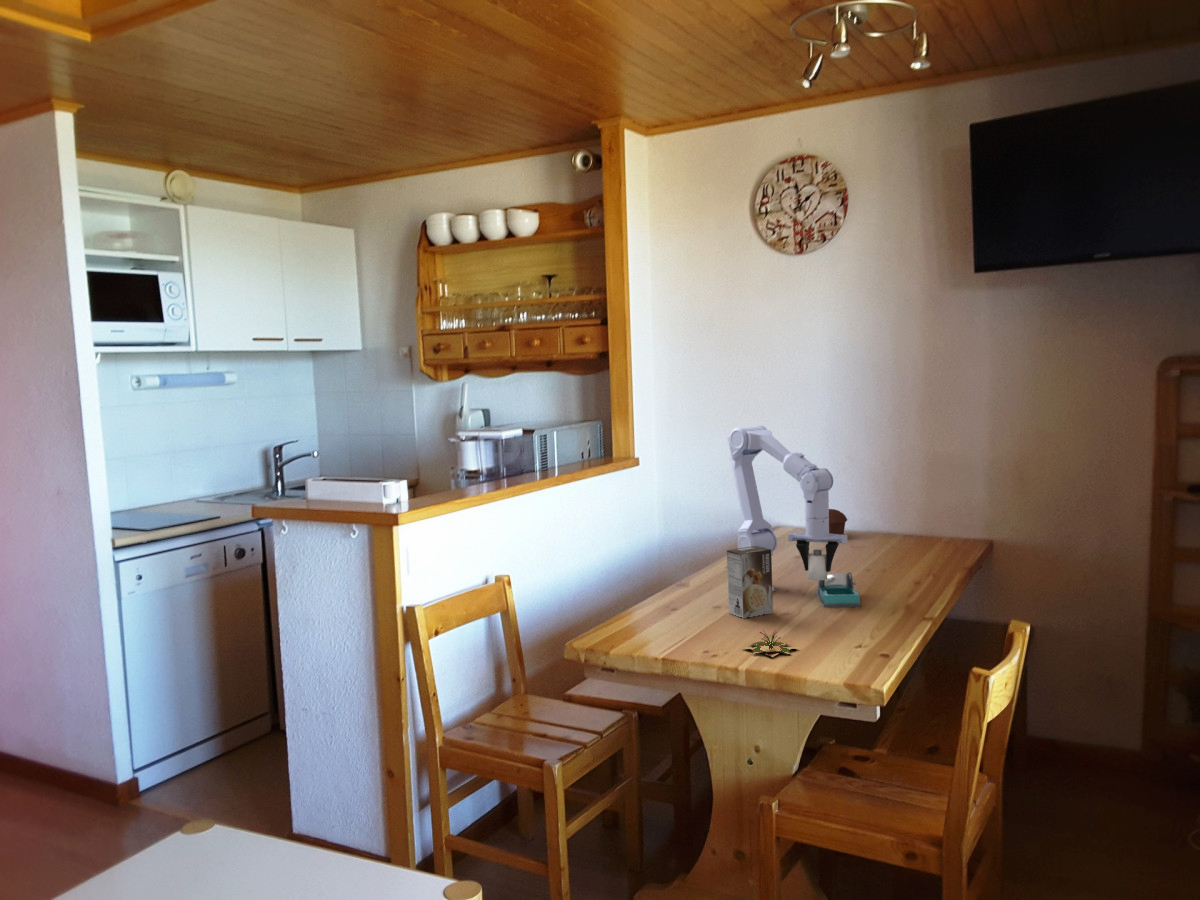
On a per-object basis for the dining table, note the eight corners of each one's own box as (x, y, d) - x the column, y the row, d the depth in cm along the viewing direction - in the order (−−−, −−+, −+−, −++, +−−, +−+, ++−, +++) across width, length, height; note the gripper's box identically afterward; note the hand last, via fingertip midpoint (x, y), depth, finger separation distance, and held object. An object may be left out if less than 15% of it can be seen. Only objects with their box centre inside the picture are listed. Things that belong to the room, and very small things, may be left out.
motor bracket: (823, 607, 240) (823, 583, 239) (815, 593, 254) (815, 570, 253) (863, 606, 239) (862, 582, 239) (852, 593, 253) (852, 569, 253)
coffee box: (757, 607, 242) (756, 544, 240) (773, 613, 236) (772, 549, 234) (727, 613, 237) (726, 549, 236) (743, 619, 232) (741, 553, 230)
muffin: (812, 542, 322) (812, 512, 321) (811, 535, 333) (810, 507, 332) (849, 542, 320) (848, 512, 319) (846, 535, 331) (846, 507, 330)
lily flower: (810, 652, 206) (810, 631, 206) (772, 664, 199) (772, 642, 199) (768, 640, 216) (767, 620, 215) (730, 651, 208) (730, 631, 208)
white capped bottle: (812, 580, 241) (811, 552, 240) (805, 576, 246) (804, 548, 245) (830, 579, 242) (830, 551, 241) (823, 575, 246) (822, 547, 246)
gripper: (849, 515, 243) (849, 568, 244) (792, 513, 249) (792, 565, 250) (844, 520, 236) (844, 574, 238) (785, 518, 242) (786, 571, 244)
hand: (817, 570), depth 243 cm, fingers closed on white capped bottle, 5 cm apart
